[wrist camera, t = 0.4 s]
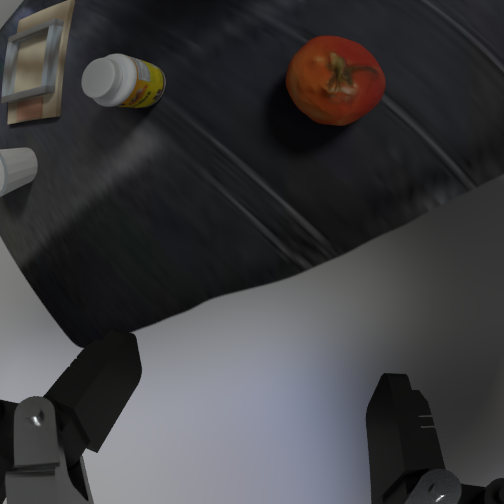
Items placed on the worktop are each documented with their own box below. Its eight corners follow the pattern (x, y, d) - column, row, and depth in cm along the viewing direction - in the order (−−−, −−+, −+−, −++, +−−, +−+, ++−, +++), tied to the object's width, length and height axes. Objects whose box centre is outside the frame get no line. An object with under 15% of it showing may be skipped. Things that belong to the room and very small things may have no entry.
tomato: (274, 105, 31) (265, 98, 24) (308, 33, 28) (308, 8, 20) (353, 142, 31) (367, 146, 24) (387, 71, 28) (409, 57, 20)
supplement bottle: (132, 114, 34) (80, 115, 25) (122, 74, 32) (70, 66, 23) (172, 98, 33) (127, 92, 23) (162, 57, 31) (115, 39, 21)
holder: (23, 21, 29) (11, 19, 27) (75, 0, 28) (62, -4, 25) (11, 123, 36) (-2, 125, 34) (60, 116, 35) (46, 117, 32)
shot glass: (40, 143, 37) (6, 149, 31) (40, 187, 40) (8, 199, 33) (14, 144, 38) (-18, 151, 31) (15, 185, 40) (-16, 196, 34)
